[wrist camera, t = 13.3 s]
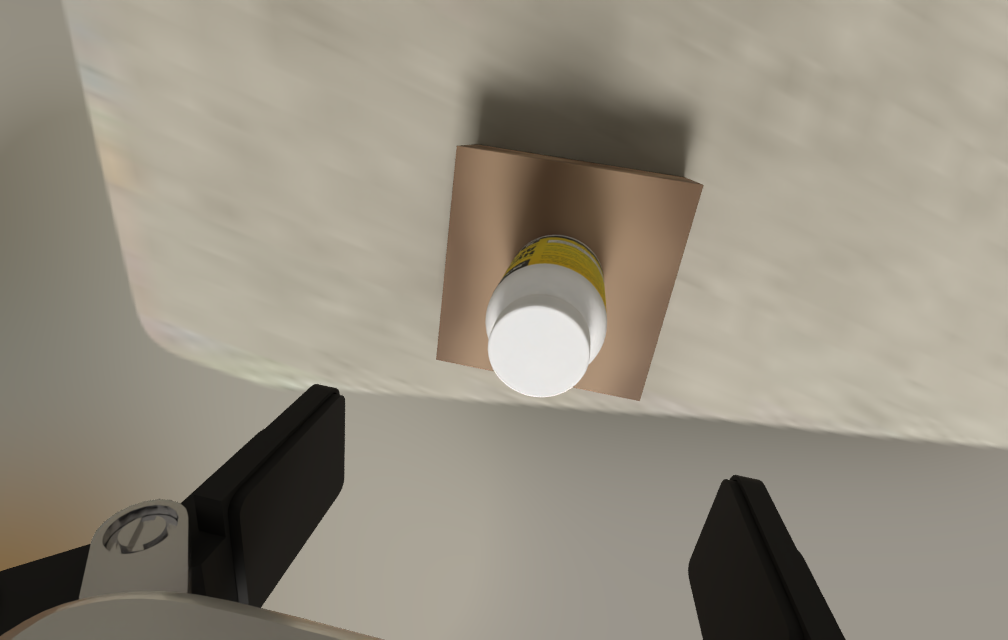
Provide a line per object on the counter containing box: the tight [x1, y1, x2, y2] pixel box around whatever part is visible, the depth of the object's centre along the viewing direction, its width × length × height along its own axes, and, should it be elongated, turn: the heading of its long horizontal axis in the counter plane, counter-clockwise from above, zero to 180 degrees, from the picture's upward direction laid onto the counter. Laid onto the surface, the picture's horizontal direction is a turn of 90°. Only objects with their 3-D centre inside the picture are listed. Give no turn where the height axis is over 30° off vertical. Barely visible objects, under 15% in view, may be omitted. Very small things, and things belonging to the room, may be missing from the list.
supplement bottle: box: [485, 235, 607, 397], centre depth 22 cm, size 5×5×10 cm
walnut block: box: [436, 144, 703, 401], centre depth 29 cm, size 13×13×5 cm
